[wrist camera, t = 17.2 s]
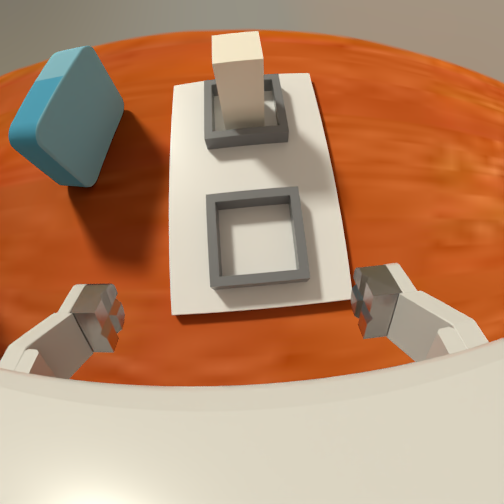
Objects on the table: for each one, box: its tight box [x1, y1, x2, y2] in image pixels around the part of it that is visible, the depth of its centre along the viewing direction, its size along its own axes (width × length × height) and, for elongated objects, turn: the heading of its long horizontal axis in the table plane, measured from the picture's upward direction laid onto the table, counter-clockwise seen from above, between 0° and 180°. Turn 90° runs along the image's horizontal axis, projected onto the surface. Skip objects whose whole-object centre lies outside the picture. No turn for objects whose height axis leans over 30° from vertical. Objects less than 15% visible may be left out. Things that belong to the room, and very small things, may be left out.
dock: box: [169, 73, 352, 315], centre depth 30 cm, size 16×26×3 cm, turn 5°
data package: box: [9, 46, 124, 187], centre depth 27 cm, size 12×4×12 cm, turn 170°
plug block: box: [212, 31, 265, 130], centre depth 27 cm, size 4×4×10 cm
